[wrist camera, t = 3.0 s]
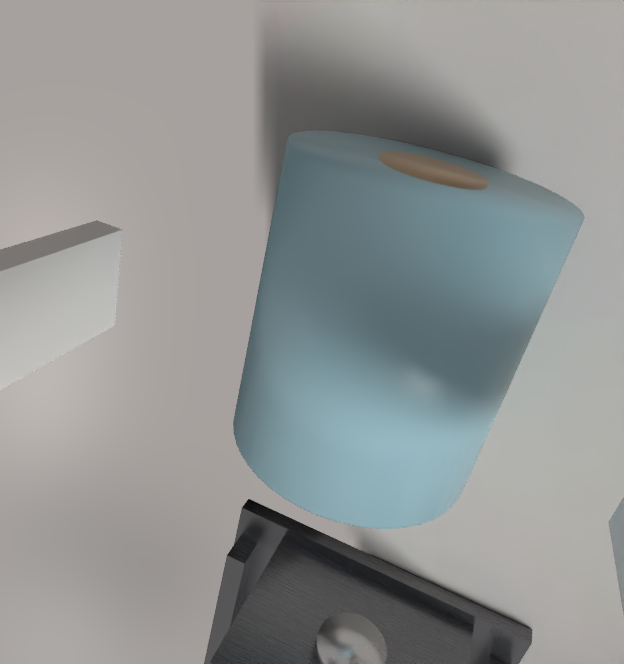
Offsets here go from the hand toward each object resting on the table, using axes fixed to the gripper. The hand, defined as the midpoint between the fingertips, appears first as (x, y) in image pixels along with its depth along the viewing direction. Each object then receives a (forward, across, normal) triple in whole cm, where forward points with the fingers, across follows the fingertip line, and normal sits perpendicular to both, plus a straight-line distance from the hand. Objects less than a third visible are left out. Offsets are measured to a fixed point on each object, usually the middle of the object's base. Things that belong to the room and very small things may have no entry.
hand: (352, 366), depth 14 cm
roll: (+6, 0, 0) cm, 6 cm away
